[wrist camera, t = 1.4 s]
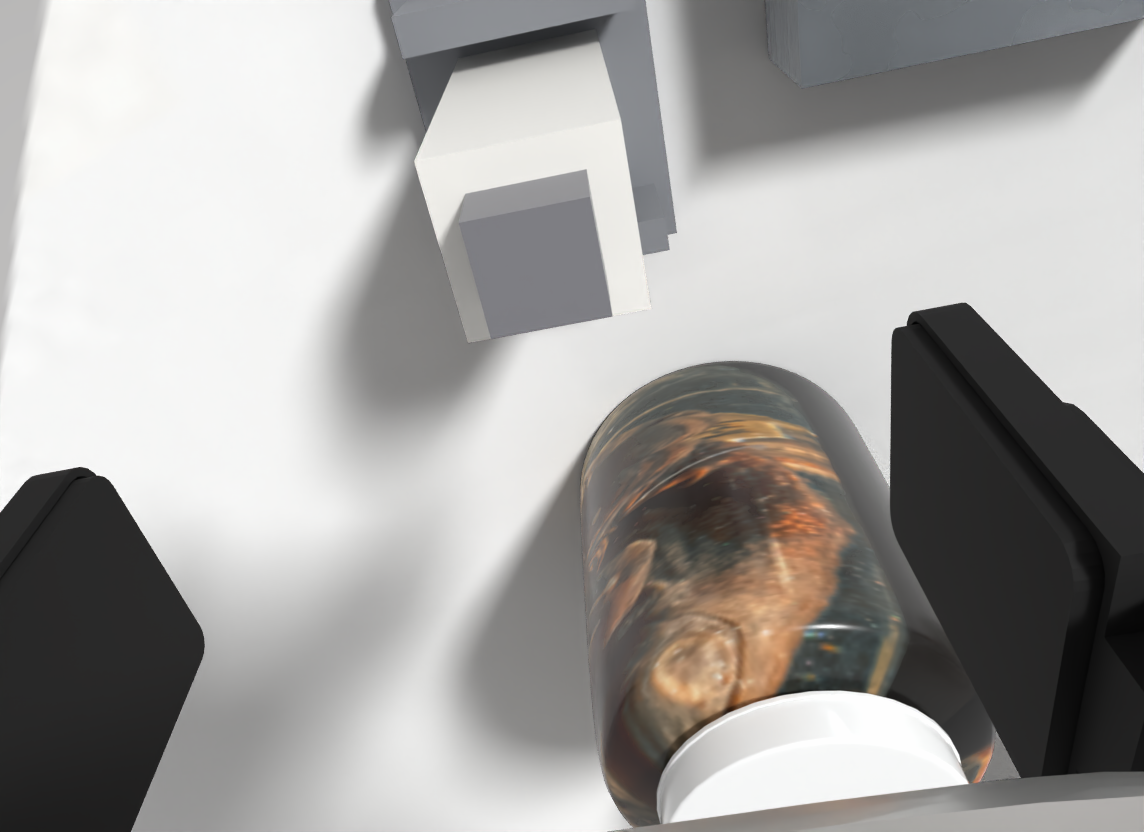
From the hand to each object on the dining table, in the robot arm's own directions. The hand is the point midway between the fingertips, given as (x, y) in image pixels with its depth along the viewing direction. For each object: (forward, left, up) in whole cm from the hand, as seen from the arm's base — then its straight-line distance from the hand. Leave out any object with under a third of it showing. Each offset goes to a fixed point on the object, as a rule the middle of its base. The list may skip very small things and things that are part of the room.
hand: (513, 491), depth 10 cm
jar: (-16, -4, -20) cm, 26 cm away
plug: (0, 0, -18) cm, 18 cm away
